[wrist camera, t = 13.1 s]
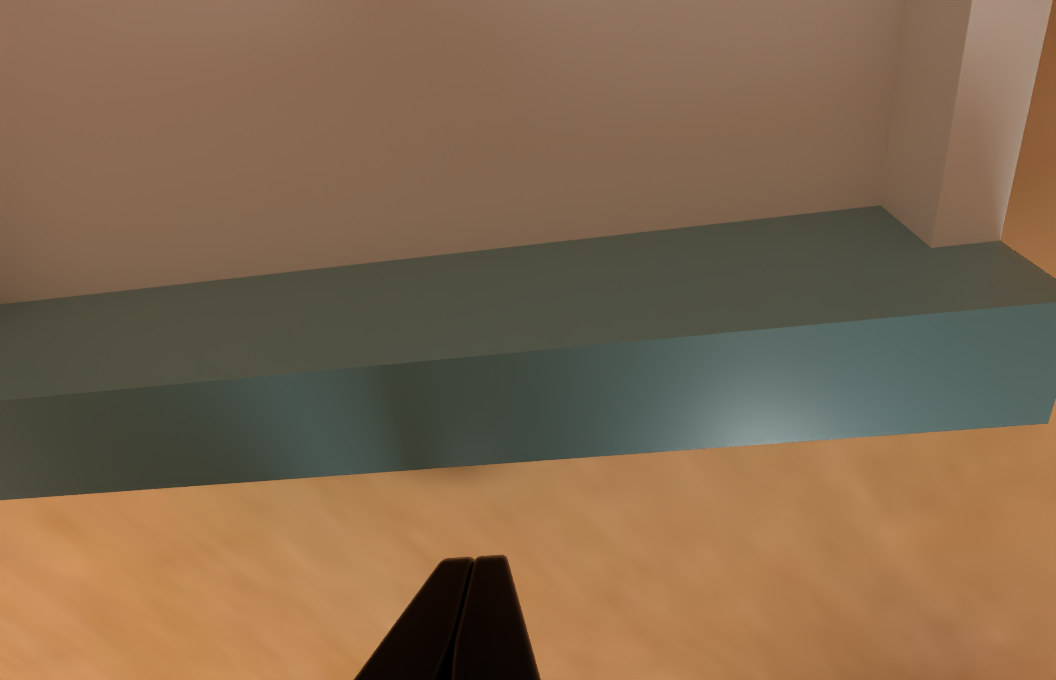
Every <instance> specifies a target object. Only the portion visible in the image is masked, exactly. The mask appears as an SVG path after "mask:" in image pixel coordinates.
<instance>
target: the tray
mask: <svg viewBox="0 0 1056 680" xmlns="http://www.w3.org/2000/svg"><path fill="white" fill-rule="evenodd" d="M1052 2H1053V0H0V500H9V499H23V498H36V497H50V496H64V495H77V494H91V493H105V492H118V491H132V490H146V489H159V488H173V487H187V486H200V485H214V484H228V483H241V482H255V481H269V480H282V479H296V478H310V477H323V476H337V475H351V474H364V473H378V472H392V471H405V470H419V469H433V468H446V467H460V466H474V465H487V464H501V463H515V462H528V461H542V460H556V459H569V458H583V457H597V456H610V455H624V454H638V453H651V452H665V451H679V450H692V449H706V448H720V447H733V446H747V445H761V444H774V443H788V442H802V441H815V440H829V439H843V438H856V437H870V436H884V435H897V434H911V433H924V432H938V431H952V430H965V429H979V428H993V427H1006V426H1020V425H1034V424H1047V423H1048V422H1049V418H1050V415H1051V412H1052V408H1053V405H1054V402H1055V398H1056V279H1055V278H1053V277H1052V276H1051V275H1049V274H1048V273H1046V272H1045V271H1043V270H1042V269H1040V268H1039V267H1037V266H1036V265H1035V264H1033V263H1032V262H1030V261H1029V260H1027V259H1026V258H1024V257H1023V256H1021V255H1020V254H1019V253H1017V252H1016V251H1014V250H1013V249H1011V248H1010V247H1008V246H1007V245H1005V244H1004V243H1003V242H1001V241H1000V238H1001V233H1002V229H1003V224H1004V220H1005V215H1006V211H1007V206H1008V202H1009V197H1010V192H1011V188H1012V183H1013V179H1014V174H1015V170H1016V165H1017V161H1018V156H1019V152H1020V147H1021V143H1022V138H1023V133H1024V129H1025V124H1026V120H1027V115H1028V111H1029V106H1030V102H1031V97H1032V93H1033V88H1034V83H1035V79H1036V74H1037V70H1038V65H1039V61H1040V56H1041V52H1042V47H1043V43H1044V38H1045V33H1046V29H1047V24H1048V20H1049V15H1050V11H1051V6H1052Z"/></svg>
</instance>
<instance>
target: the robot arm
mask: <svg viewBox="0 0 1056 680" xmlns="http://www.w3.org/2000/svg"><path fill="white" fill-rule="evenodd" d="M354 680H541V679H540V675H539V672H538V668H537V664H536V661H535V657H534V653H533V650H532V646H531V643H530V639H529V635H528V632H527V628H526V624H525V621H524V617H523V614H522V610H521V606H520V603H519V599H518V595H517V592H516V588H515V584H514V581H513V577H512V574H511V570H510V566H509V563H508V560H507V557H506V556H504V555H492V556H480V557H477V558H476V559H475V560H474V559H473V558H471V557H459V558H447V559H444V560H442V561H441V562H440V563H439V564H438V566H437V567H436V568H435V570H434V571H433V572H432V574H431V575H430V577H429V578H428V579H427V581H426V582H425V583H424V585H423V586H422V587H421V589H420V590H419V591H418V593H417V594H416V596H415V597H414V598H413V600H412V601H411V602H410V604H409V605H408V606H407V608H406V609H405V611H404V612H403V613H402V615H401V616H400V617H399V619H398V620H397V621H396V623H395V624H394V626H393V627H392V628H391V630H390V631H389V632H388V634H387V635H386V636H385V638H384V639H383V641H382V642H381V643H380V645H379V646H378V647H377V649H376V650H375V651H374V653H373V654H372V656H371V657H370V658H369V660H368V661H367V662H366V664H365V665H364V666H363V668H362V669H361V671H360V672H359V673H358V675H357V676H356V677H355V679H354Z"/></svg>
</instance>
